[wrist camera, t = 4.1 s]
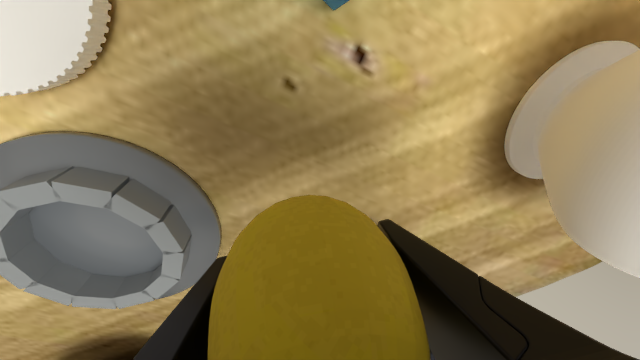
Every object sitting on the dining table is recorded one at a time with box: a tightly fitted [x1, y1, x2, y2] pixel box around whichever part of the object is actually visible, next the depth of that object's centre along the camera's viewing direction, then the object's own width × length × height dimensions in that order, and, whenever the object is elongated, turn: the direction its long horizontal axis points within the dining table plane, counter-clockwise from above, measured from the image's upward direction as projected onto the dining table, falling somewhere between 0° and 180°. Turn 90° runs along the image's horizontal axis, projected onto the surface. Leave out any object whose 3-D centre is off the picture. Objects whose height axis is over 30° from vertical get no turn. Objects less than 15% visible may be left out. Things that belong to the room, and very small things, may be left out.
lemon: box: [208, 195, 431, 360], centre depth 7 cm, size 6×6×8 cm
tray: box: [0, 131, 221, 309], centre depth 19 cm, size 18×18×3 cm
